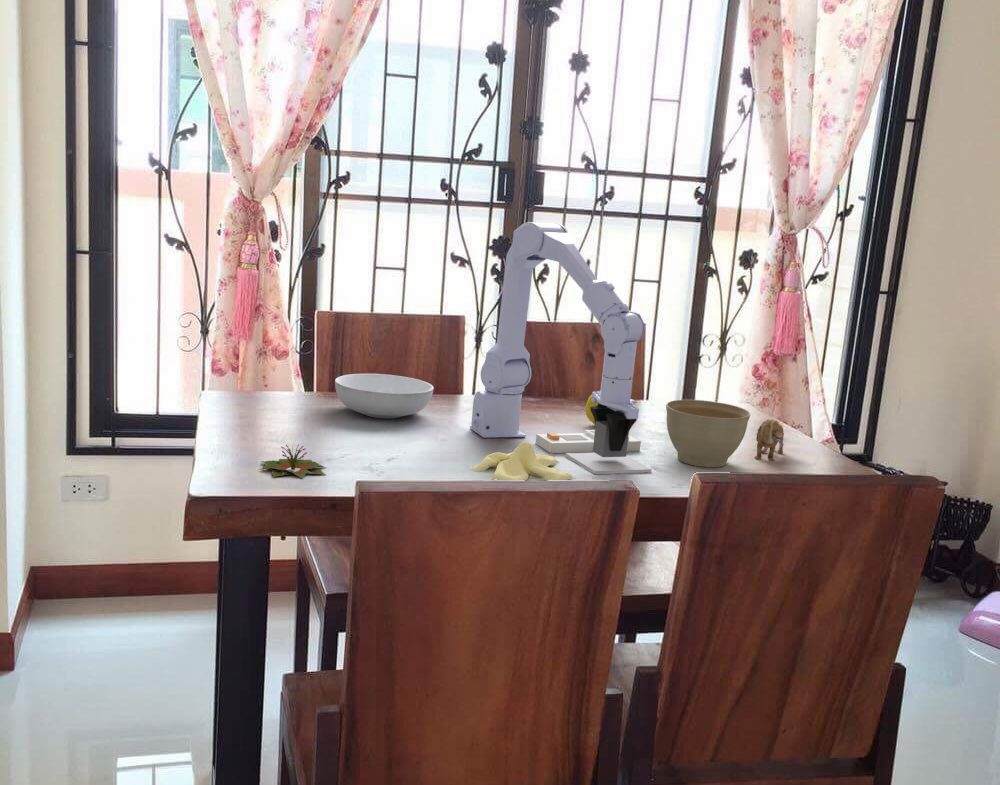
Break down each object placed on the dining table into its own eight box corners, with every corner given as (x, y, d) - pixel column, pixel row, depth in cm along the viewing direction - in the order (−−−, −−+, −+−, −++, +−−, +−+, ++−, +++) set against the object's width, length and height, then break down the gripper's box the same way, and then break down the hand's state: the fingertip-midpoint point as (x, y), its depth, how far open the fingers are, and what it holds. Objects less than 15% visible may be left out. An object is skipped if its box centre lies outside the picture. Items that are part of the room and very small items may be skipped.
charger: (602, 457, 188) (606, 426, 187) (592, 451, 191) (596, 420, 190) (626, 456, 190) (630, 425, 189) (616, 451, 193) (619, 420, 192)
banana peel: (546, 457, 194) (549, 426, 193) (593, 486, 178) (597, 452, 177) (438, 461, 185) (440, 428, 184) (478, 492, 169) (481, 456, 167)
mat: (594, 474, 183) (594, 471, 183) (565, 456, 194) (565, 453, 194) (651, 472, 188) (651, 469, 188) (619, 454, 199) (620, 451, 199)
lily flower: (317, 460, 178) (319, 435, 177) (337, 480, 168) (339, 454, 167) (249, 463, 173) (250, 437, 172) (265, 484, 162) (266, 456, 161)
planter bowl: (685, 446, 210) (691, 395, 208) (756, 464, 200) (764, 411, 198) (644, 458, 198) (651, 404, 196) (718, 478, 188) (726, 421, 186)
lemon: (607, 430, 219) (611, 394, 217) (582, 427, 220) (586, 391, 218) (610, 425, 224) (614, 389, 223) (585, 421, 225) (589, 386, 224)
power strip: (550, 453, 195) (551, 439, 195) (535, 443, 202) (536, 430, 201) (639, 450, 203) (641, 437, 203) (622, 441, 210) (624, 428, 209)
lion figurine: (778, 467, 200) (785, 423, 199) (751, 462, 202) (757, 419, 200) (784, 451, 214) (790, 410, 212) (758, 447, 216) (764, 406, 214)
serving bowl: (427, 429, 206) (429, 396, 205) (325, 420, 206) (326, 387, 205) (435, 408, 226) (437, 377, 225) (342, 399, 226) (343, 369, 225)
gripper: (656, 385, 183) (647, 457, 185) (617, 369, 196) (609, 437, 198) (622, 384, 180) (614, 458, 183) (585, 369, 193) (577, 437, 196)
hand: (609, 447), depth 190 cm, fingers closed on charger, 4 cm apart
